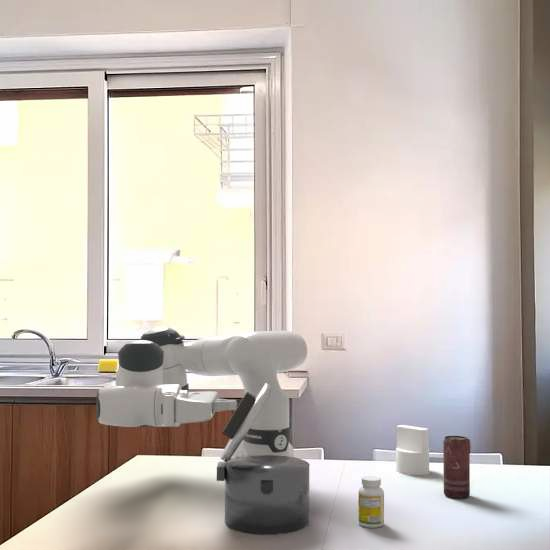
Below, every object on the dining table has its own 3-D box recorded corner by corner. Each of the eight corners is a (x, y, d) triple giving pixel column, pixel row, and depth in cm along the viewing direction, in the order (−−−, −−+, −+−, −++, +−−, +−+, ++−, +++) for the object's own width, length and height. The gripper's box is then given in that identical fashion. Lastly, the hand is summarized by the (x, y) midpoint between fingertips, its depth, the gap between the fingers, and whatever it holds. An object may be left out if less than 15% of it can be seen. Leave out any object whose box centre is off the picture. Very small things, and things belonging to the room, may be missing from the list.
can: (471, 500, 168) (471, 440, 168) (444, 498, 169) (443, 439, 169) (470, 493, 174) (469, 435, 174) (443, 491, 175) (443, 434, 175)
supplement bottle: (375, 530, 145) (374, 482, 146) (353, 524, 149) (353, 478, 149) (389, 523, 150) (388, 477, 150) (367, 518, 153) (367, 473, 153)
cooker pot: (212, 538, 140) (213, 477, 140) (221, 504, 163) (221, 452, 163) (312, 539, 140) (312, 478, 140) (306, 505, 163) (306, 452, 164)
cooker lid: (223, 471, 142) (206, 461, 143) (229, 452, 161) (214, 442, 161) (272, 392, 143) (255, 382, 143) (272, 381, 162) (257, 372, 162)
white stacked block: (435, 471, 196) (435, 427, 197) (416, 476, 190) (416, 431, 190) (408, 465, 203) (408, 423, 203) (389, 471, 196) (389, 427, 197)
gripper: (178, 413, 161) (239, 412, 161) (164, 428, 141) (234, 427, 141) (178, 385, 161) (239, 384, 161) (164, 396, 141) (234, 395, 141)
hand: (236, 404), depth 151 cm, fingers closed, pressing on cooker lid
